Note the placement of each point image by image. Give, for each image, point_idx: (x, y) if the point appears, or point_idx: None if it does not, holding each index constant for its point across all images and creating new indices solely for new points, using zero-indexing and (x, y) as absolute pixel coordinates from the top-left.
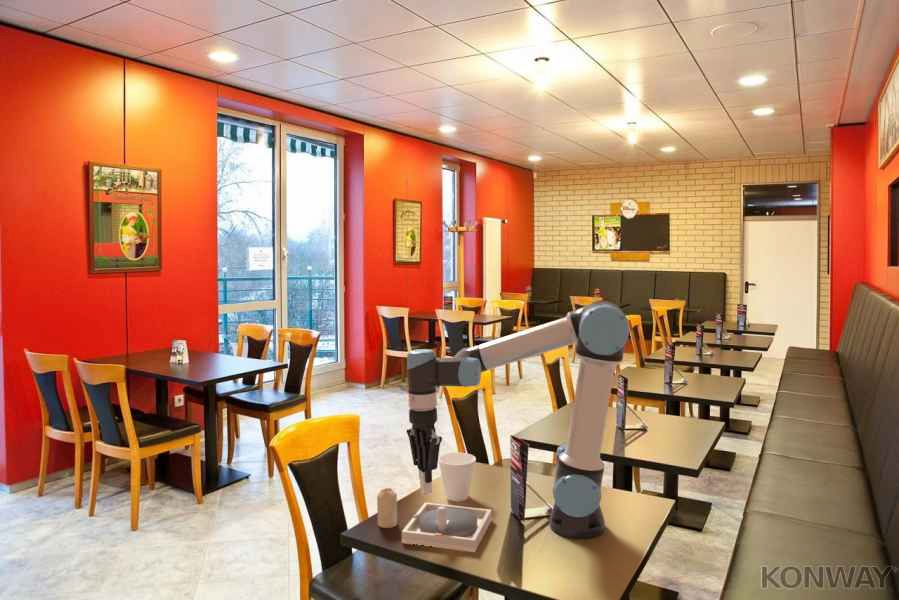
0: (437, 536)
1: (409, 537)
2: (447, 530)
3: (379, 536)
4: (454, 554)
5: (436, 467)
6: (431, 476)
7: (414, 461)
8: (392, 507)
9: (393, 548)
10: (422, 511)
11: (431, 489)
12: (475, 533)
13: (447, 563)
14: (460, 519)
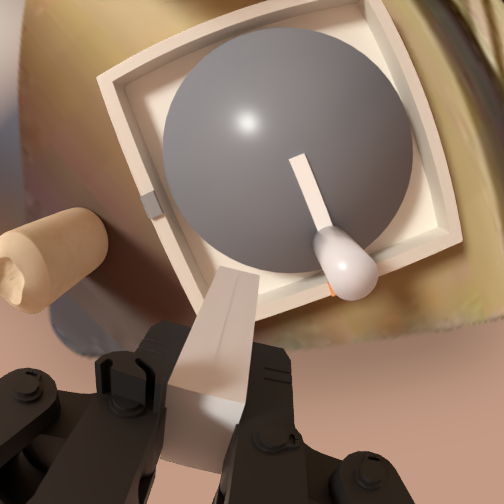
0: None
1: None
2: (351, 235)
3: (128, 317)
4: (399, 277)
5: (391, 479)
6: (289, 391)
7: (38, 471)
8: (73, 271)
9: None
10: (135, 138)
11: (257, 287)
12: (444, 192)
13: (404, 327)
14: (334, 114)
